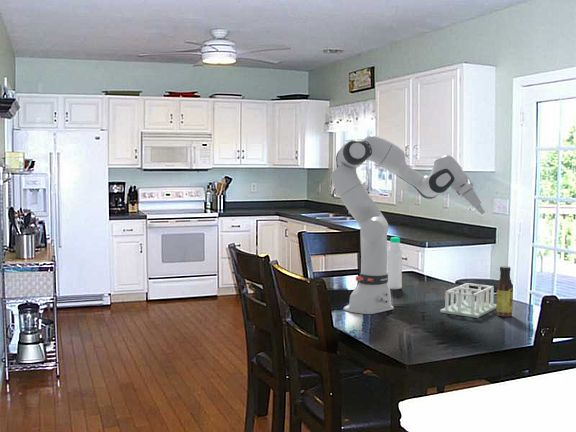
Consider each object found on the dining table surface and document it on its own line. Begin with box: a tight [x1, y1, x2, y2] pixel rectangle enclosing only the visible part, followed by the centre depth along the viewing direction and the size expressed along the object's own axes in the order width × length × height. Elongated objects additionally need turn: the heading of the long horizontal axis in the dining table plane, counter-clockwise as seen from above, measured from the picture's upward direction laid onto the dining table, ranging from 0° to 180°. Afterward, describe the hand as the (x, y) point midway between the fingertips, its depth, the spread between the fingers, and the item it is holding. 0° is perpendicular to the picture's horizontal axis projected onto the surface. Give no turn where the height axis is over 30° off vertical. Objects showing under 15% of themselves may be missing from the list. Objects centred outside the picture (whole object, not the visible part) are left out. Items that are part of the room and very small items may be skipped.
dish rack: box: [439, 282, 496, 319], centre depth 272 cm, size 25×16×9 cm, turn 143°
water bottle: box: [387, 236, 403, 290], centre depth 317 cm, size 7×7×25 cm
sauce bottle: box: [495, 265, 514, 318], centre depth 261 cm, size 7×6×20 cm
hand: (482, 212), depth 282 cm, fingers open, 8 cm apart
